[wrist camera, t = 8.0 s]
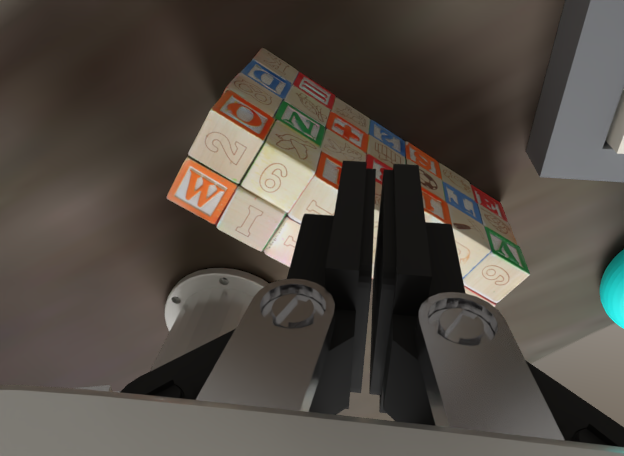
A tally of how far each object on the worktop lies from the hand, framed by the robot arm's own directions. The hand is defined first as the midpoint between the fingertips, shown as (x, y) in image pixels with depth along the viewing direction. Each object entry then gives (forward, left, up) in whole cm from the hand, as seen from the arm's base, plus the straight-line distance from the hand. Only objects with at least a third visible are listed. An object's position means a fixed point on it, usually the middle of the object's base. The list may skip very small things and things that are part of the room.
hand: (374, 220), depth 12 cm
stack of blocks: (-10, 0, -26) cm, 28 cm away
